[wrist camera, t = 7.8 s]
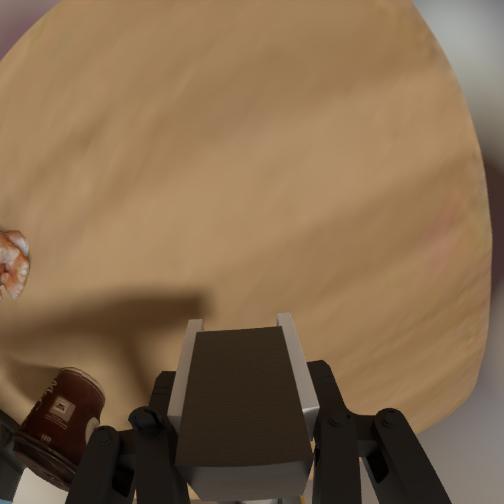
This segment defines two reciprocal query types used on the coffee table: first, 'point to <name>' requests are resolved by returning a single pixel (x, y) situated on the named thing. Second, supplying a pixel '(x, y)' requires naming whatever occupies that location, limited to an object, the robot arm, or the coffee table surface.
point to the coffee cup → (60, 427)
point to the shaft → (243, 419)
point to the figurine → (13, 262)
